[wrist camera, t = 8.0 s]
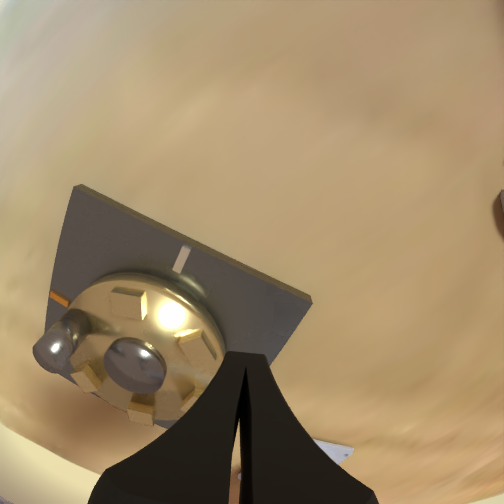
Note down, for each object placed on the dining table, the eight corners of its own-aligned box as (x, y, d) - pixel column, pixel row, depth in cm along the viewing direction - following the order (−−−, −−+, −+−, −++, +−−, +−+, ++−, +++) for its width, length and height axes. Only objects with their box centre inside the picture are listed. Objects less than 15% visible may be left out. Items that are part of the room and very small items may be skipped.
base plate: (210, 435, 24) (209, 445, 23) (47, 357, 22) (40, 364, 21) (310, 295, 20) (313, 304, 18) (81, 184, 17) (71, 186, 16)
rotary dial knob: (260, 339, 19) (260, 405, 14) (176, 423, 22) (161, 479, 17) (109, 236, 17) (56, 274, 12) (58, 348, 20) (21, 393, 15)
